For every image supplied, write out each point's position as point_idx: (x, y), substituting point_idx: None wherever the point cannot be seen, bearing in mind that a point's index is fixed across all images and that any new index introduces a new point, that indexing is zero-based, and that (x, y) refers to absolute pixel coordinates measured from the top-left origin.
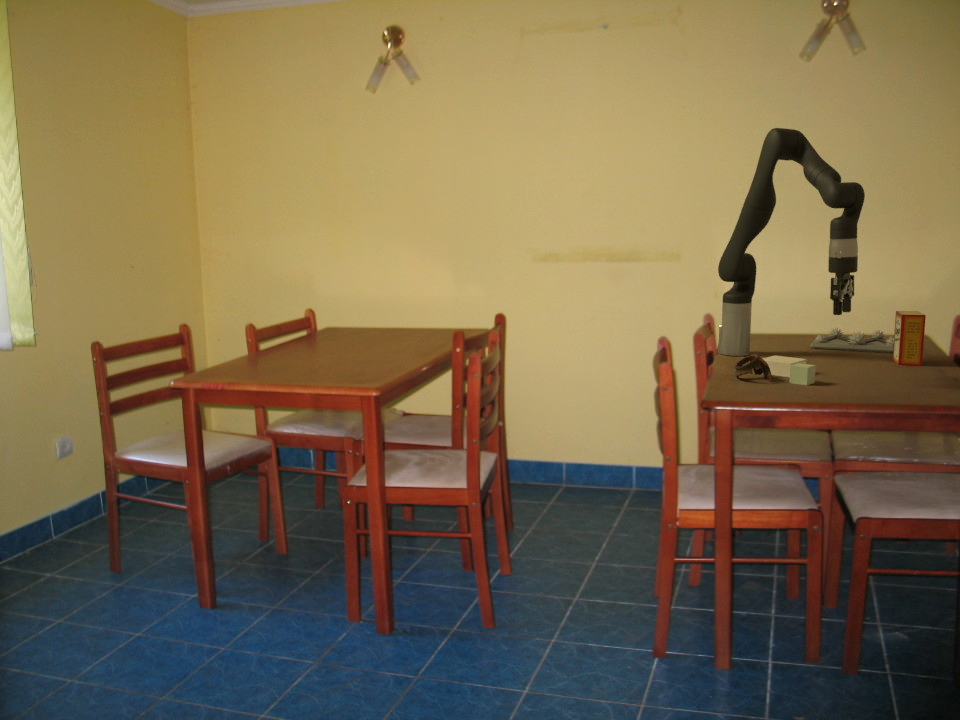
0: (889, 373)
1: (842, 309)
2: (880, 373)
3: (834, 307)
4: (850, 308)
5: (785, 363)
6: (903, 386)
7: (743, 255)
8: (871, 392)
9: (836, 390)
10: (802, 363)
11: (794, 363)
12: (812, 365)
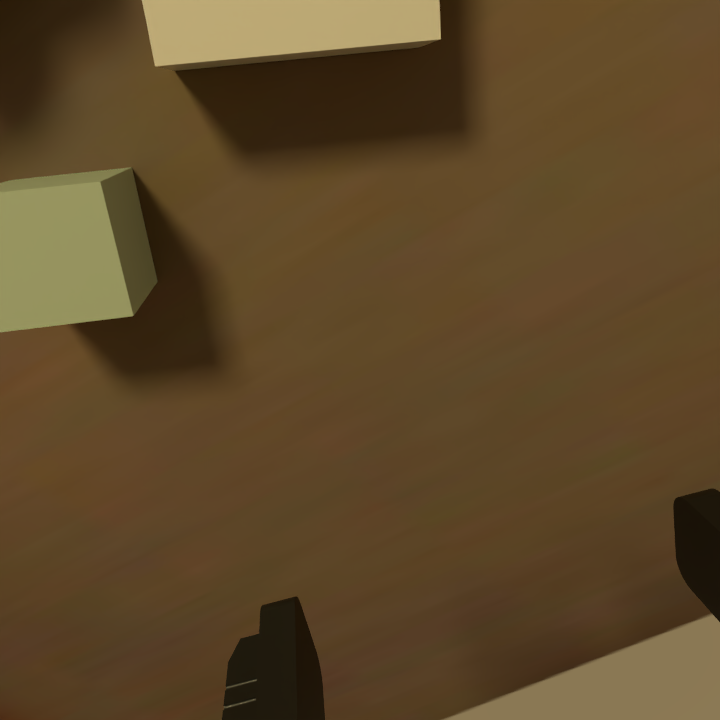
0: (699, 400)
1: (696, 511)
2: (673, 372)
3: (225, 717)
4: (717, 605)
5: (145, 15)
6: (411, 587)
7: None
8: (170, 578)
9: (67, 467)
10: (368, 47)
11: (225, 60)
12: (103, 307)
